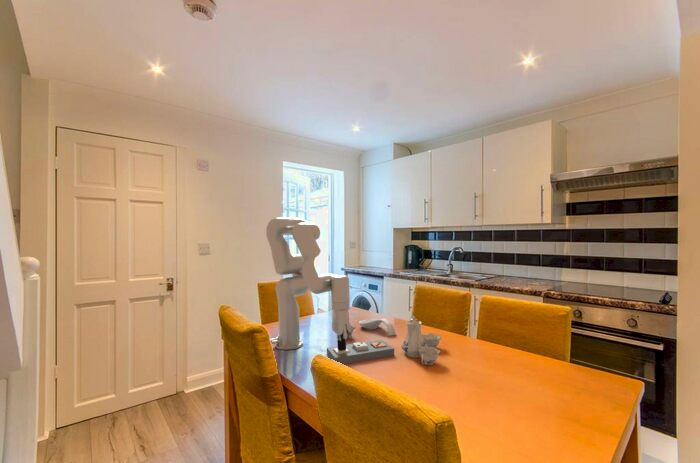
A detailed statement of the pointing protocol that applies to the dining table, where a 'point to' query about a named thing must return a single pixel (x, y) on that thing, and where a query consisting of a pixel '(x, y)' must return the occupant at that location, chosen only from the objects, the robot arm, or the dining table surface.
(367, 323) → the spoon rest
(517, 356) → the dining table surface
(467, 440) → the dining table surface
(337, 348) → the button one
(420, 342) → the chinaware
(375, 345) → the button three
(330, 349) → the button panel
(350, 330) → the spiky ball
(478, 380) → the dining table surface
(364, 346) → the button two
